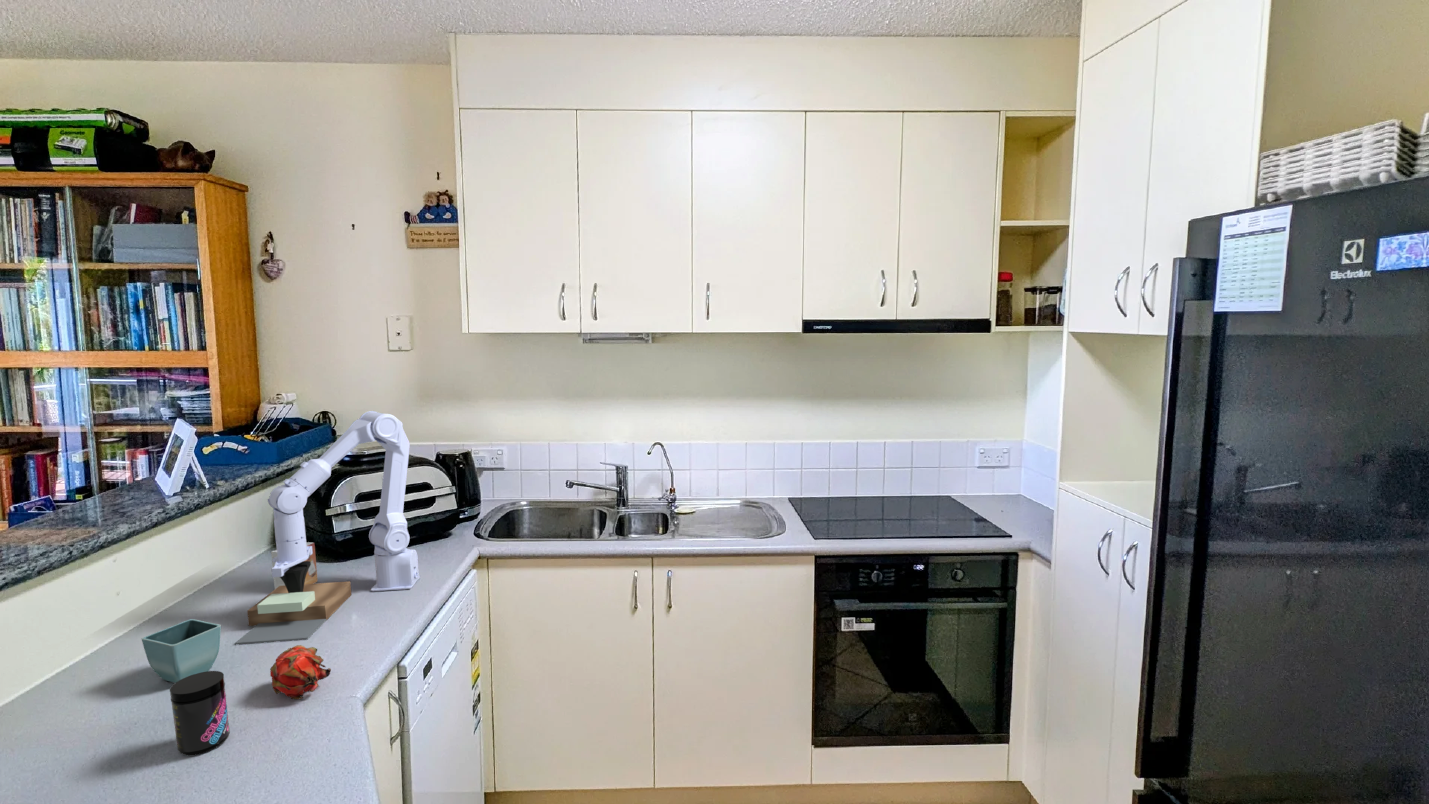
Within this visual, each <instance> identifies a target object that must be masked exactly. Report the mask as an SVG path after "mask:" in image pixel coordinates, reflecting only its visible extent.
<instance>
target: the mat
mask: <svg viewBox="0 0 1429 804" xmlns="http://www.w3.org/2000/svg"><path fill="white" fill-rule="evenodd" d="M326 621H327V620H326V619H316V620H302V621H287V622H273V623H259V624H257V625H255V626H253V627H252V628H251V629H250V630H249V631H247V632H246V633H245V634H243V636H242V637H240V638H239V639H238V640H237V641H236V642H235V643H234V645H235V646H237V645H236V644H239V645H246V644H247V645H250V644H253V645H254V644H263V643H264V642H267V643H274V641H280V642H293V641H292V640H294V641H303V640H306V639H307V640H309V639H308V638H311V637H312V636H313V635H314V634H315V633H316V632H317V631H318V629H320V627H322V626H323V624H324V623H326ZM313 633H314V634H313ZM311 635H312V636H311ZM310 636H311V637H310ZM307 640H306V641H307ZM264 644H265V643H264Z"/></svg>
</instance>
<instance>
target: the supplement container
mask: <svg viewBox="0 0 1429 804" xmlns="http://www.w3.org/2000/svg"><path fill="white" fill-rule="evenodd" d="M226 693H227V692H226V682H225V674H224V673H223V672H222V671H219V670H209V671H207V672H201V673H197V674H193V675H190V676H188V677H185V678H183V679H181V680H179V681H177V682H176V683H174V682H173V684H172V685H171V686H170V688H169V694H170V702H171V709H172V716H173V724H174V732H175V742H176V749H177V751H178V753H179V754H181V755H183V756H187V755H188V756H198V755H201V754H202V755H203V754H206V753H208V752H211V751H213V750H215V749H217V748H218V747H220V746H221V745H223V744H224V743H225V742H226V741H227V740H228V738H229V736H230V733H231V729H230V719H229V711H228V704H227V703H228V702H227V694H226Z"/></svg>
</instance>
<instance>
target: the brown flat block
mask: <svg viewBox="0 0 1429 804" xmlns="http://www.w3.org/2000/svg"><path fill="white" fill-rule="evenodd" d="M351 585H352V584H351V581H348V580H347V581H332V582H321V583H318V582H316V583H314V584H304V589H303V592H311V591H314V593H315V600H314V601H313V602H312V603H311V604H310V605H309V606H308V607H306V608H305V609H304V610H303V611H295V612H280V613H266V614H258V607H257V605H258V604H259V603H261V602H262V601H263V600H265V599H266V598H267V597H268V596H270V595H271V594H280V593H288V590H287V588H286V586H279V587H277V588H276V589H275V588H274V590H272V591H271V592H270V593H268V594H267V595H265V596H264V597H263V598H262V599H261V600H259V601H258V602H257V603H255V604H254V605H253V606H251V607H250V608H249V609H248V610H247V611H246V612H247V622H248V626H249V627H255V626H256V625H257V624H259V623H273V622H287V621H302V620H316V619H326V621H328V620H329V618H331V616H332V615H334V613H336V611H338V610H339V608H340V607H341V606H342V605H343V604H344V603H345V602H347V601H348V599H349V598H351V596H352V587H351Z"/></svg>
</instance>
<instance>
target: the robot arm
mask: <svg viewBox="0 0 1429 804" xmlns="http://www.w3.org/2000/svg"><path fill="white" fill-rule="evenodd" d="M403 427H404V424H403V422H402V421H401V420H400V419H398V418H397V417H396V416H395V415H393V414H390V413H383V412H382V413H381V412H379V411H375V410H369V411H368V410H367V411H366V412H364V413H362V414H361V415H360V417H359V418H357V419H356V420H354V421H353V422H352V423H351V425H350V426H349V427H348V428H347V429H346V430H345V431H344V432H343V434H342V435H340V436H339V437H338V439H337V440H336V441H335V442H333V444H332V445H331V446H329V448H328V449H327V450H326V451H325V452H323V454H322V455H321V456H320V457H319V458H311V459H309V460H307V461H302V462H301V463H300V464H299V466H300V468H298V470H297V471H295V473H294V474H293V475H292V476H290V477H289V478H285V479H284V480H282V483H283V484H280V485H278V486H276V487H274V488H273V489H272V491H271V492H270V494H269V498H267V502H268V504H269V506H270V507H271V508H272V509H273V510H272V511H273V525H274V527H273V528H274V536H275V543H276V544H275V545H276V550H277V557H275V558H273V559H272V558H271V563H272V562H276V563H275V566H274V567H273V566H272V568H271V577H272V578H274V577H280V578H281V579H282V581H283V582H284V584H285V586H286V588H287V590H288V593H295V592H303V589H304V583H305V578H306V574H307V572H308V569H309V567H310V565H311V562H310V561H305V560H307V559H308V558H309V555H312V554H313V551H312V546H307V545H306V542H307V535H306V524H305V517H304V508H305V506H306V505H307V502H308V498H309V497H310V496H311V495H312V494H314V492H315V491H316V490H317V489H318V488H319V487H321V486H322V485H323V484H324V483H325V482H326V481H327V480H328V479H329V478H330V477H331V476H332V475H331V474H332V468H333V467H334V466H335V465H336V464H337V463H339V462H340V461H342V459H343V458H345V456H347V455H348V454H349V453H350V452H352V450H354V449H355V448H356V447H357V446H359V445H361V444H365V443H366V444H368V443H373V442H375V441H376V442H377V444H379V445H380V446H381V447H382V448H383V449H384V450H385V457H384V462H383V463H384V466H383V473H382V474H383V476H382V485H381V493H380V494H381V495H380V504H379V512H378V513H377V515H376V516H375V517H374V520H373V521H374V522H373V524H372V526H371V528H370V530H369V532H368V533H369V534H368V538H369V542H370V543H371V544H372V545H374V551H373V553H374V554H373V555H374V565H375V579H376V583H375V584H374V586H372V587H371V589H370V592H382V591H383V592H384V591H398V590H411V589H412V588H413V586H414V585H416V583H417V581H418V580H419V579H420V577H421V575H420V573H419V561H418V560H419V557H418V552H417V550H416V549H412V548H411V549H410V548H407V547H408V545H409V543H410V539H411V538H410V534H409V530H408V521H407V519H406V517H405V515H404V507H405V505H404V504H405V497H406V496H405V495H406V487H407V477H408V466H409V457H410V447H411V443H410V441H409V439H408V437H407V434H406V432H405V430H404V428H403Z"/></svg>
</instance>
